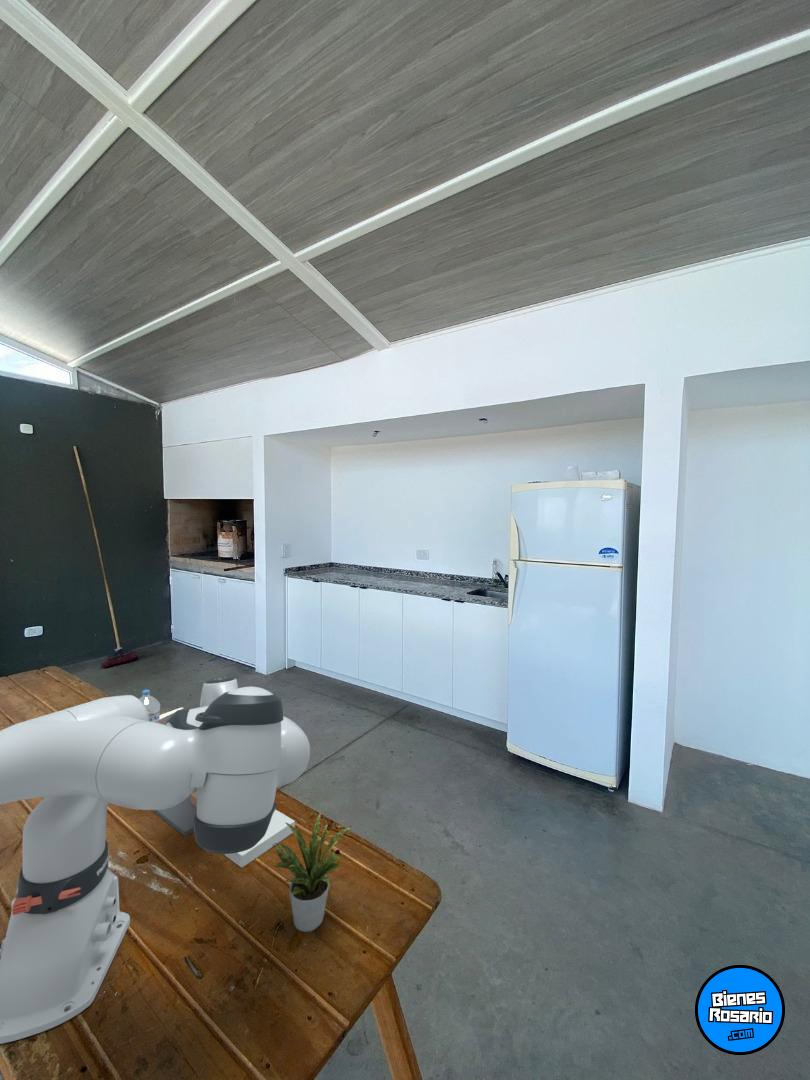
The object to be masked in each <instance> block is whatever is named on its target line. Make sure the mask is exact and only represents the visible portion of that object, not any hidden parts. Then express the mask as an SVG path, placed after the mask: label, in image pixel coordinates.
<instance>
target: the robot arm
mask: <svg viewBox="0 0 810 1080" xmlns="http://www.w3.org/2000/svg"><path fill="white" fill-rule="evenodd" d="M238 684H239V683H238V680H237V678H235V677H233V676H222V677H221V676H220V677H215V678H211V679H207V680H206V681H205V682H203V685H202V689H201V694H200V703H199V706H198V707H194V708H185V709H178V710H176V711H175V712H174V713H173V714H172V715H171V716H170V718H169V719H168V720H167V721H166V723H165V724H164V723H160V722H159V723H156V722H150V721H149V715H148V711H147V709H146V707H145V705H144V704H143V703H142V702H141V701H140V700H139V698H137V697H136V696H134V695H132V694H126V695H125V694H124V695H114V696H107V697H100V698H97V699H94V700H91V701H89V702H84V703H81V704H78V705H74V706H71V707H67V708H64V709H61V710H58V711H54V712H51V713H48V714H45V715H41V716H38V717H35V718H31V719H27V720H25V721H22V722H18V723H15V724H13V725H10V726H8V727H6V728H4V729H1V730H0V805H4V804H8V803H13V802H17V801H24V800H31V799H32V800H33V799H42V800H41V801H40V802H39V803H38V804H37V805H36V806H35V807H34V808H33V809H32V810H31V812H30V813H29V815H28V817H27V819H26V820H25V823H24V826H23V829H22V867H21V869H20V871H19V875H18V880H17V882H16V883H17V884H16V896H15V897H14V899H13V900H11V912H10V917H9V921H8V924H7V925H8V926H7V930H6V932H5V938H4V939H2V940H1V942H0V1044H7V1043H10V1042H14V1041H17V1040H21V1039H25V1038H27V1037H32V1036H34V1035H38V1034H40V1033H44V1032H46V1031H48V1030H50V1029H53V1028H56V1027H58V1026H60V1025H61V1024H63V1023H66V1022H67V1021H69V1020H71V1019H72V1018H74V1017H76V1016H78V1015H79V1014H80V1013H82V1012H83V1011H84V1010H86V1009H87V1008H88V1007H90V1006H91V1005H92V1003H93V1002H94V1000H95V999H96V996H97V994H98V992H99V990H100V987H101V986H102V983H103V981H104V979H105V978H106V975H107V973H108V971H109V968H110V966H111V964H112V962H113V961H114V958H115V956H116V954H117V951H118V949H119V947H120V946H121V943H122V941H123V939H124V937H125V934H126V933H127V931H128V928H129V926H130V924H131V916H130V915H129V913H127V912H124V911H120V895H119V893H120V891H119V889H120V888H119V877H118V876H117V875H116V874H114V873H113V872H112V871H111V870H110V869H109V857H110V850H109V844H108V841H107V839H106V835H107V833H106V832H107V828H106V827H107V815H108V814H107V813H108V805H109V804H111V805H115V806H118V807H121V808H125V809H133V810H141V811H152V810H164V809H168V808H171V807H174V806H176V805H178V804H180V803H181V802H182V801H184V800H185V799H186V798H187V797H188V796H189V795H190V794H191V793H192V792H193V791H194V789H195V788H196V787H198V790H197V813H196V814H195V815H194V831H193V833H194V837H195V842H196V844H197V846H199V847H200V848H202V849H203V850H204V851H206V852H208V853H212V854H219V855H221V854H222V855H224V854H232V853H238V852H242V851H246V850H248V849H250V848H252V847H254V846H255V845H256V844H257V843H258V842H259V841H260V840H261V839H262V838H263V837H264V835H265V834H266V831H267V829H268V826H269V824H270V821H271V818H272V815H273V813H274V811H275V810H277V806H278V805H277V803H276V802H275V801H276V799H275V798H276V793H277V787H280V786H286V785H288V784H291V783H293V782H294V781H297V779H299V778H300V776H302V774H303V773H304V772H305V770H306V769H307V766H308V764H309V762H310V757H311V746H310V740H309V738H308V737H307V735H306V733H305V732H304V731H303V729H302V728H301V727H300V726H299V725H298V724H297V723H295V721H293V720H291V719H290V718H288V717H286V716H284V709H283V702H282V700H281V697H279V696H278V694H276V693H275V692H271V691H270V690H267V689H265V688H262V687H259V686H244V687H242V686H241V687H239V685H238Z"/></svg>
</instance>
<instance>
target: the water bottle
mask: <svg viewBox="0 0 810 1080" xmlns="http://www.w3.org/2000/svg"><path fill="white" fill-rule="evenodd" d="M150 694H151V690H150V689H144V690H142V691H141V696H140V698H138V699H139V700H140V701H141V702H142V703H143V704H144V705H145V707H146V709H147V711H148V715H149V721H150V722H156V723H160V717H161V716H160V715H161V714H160V710H161V703H160V702H159V701H158V699H156V697H154V696H152V695H150Z"/></svg>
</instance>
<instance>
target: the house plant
mask: <svg viewBox="0 0 810 1080" xmlns="http://www.w3.org/2000/svg"><path fill="white" fill-rule="evenodd" d="M321 816H322V812H321V811H320V812H319V813H318V815H317V818H316V821H315V822H314V826H313V830H312V834H311V836H310V835H309V836H308V837H309V845H308V846H307V844H306V841H305V839H304V837H303V834H302V833H301V832H300V830H299V829H297V828H296V827H295V828H294V827H293V826H292V825H290V824H288V823H286V822H285V823H286V824H287V825H288V827H289V828H290V829H291V830H292V831H293V833H292V834H293V835H294V836H295V837H296V840H297V842H298V846H299V849H300V852H301V855H302V859H303V863H304V865H305V866H303V864H302V863H301V861H300V859H299V857H298V856H297V854H296V853H295V852H294V851H293V850H292V849H291V848H290V846H289V847H288V846H287V845H285V844H282V843H280V842H279V843H274V844H276V845H273V844H272V845H273V847H272V848H273V849H274V850H275V851H276V853H277V855H278V857H279V860H280V862H278V863H276V865H275V866H274V868H284V869H288V870H289V871H290V873H291V874H292V875H293V876H294V877H293V878H290V879H287V880H284V882H285V883H290V884H289V889H288V891H289V897H290V898H289V899H290V906H291V912H292V919H293V923H294V926H295V928H296V929H297V930H298V931H301V932H305V933H306V932H312V931H314V930H315V929H317V928H319V926H320V925H321V924H322V923H323V920H324V917H325V909H326V905H327V899H328V894H329V889H330V888H331V884H332V879H331V878H330V877H328V876H327V875H328V874H329V873H331V872H333V871H334V870H336V869H337V868H338V867H341V865H340V864H338V863H336V862H338V861H339V860H342V858H341V856H339V855H338V854H337V853H336V854H335V852H336V851H337V850H339V847H337V848H336V849H335V850H334V851H332V853H331V854H330V855H329V856H328V854H329V852H330V851H331V850H332V849H333V848H334V846H335V845H336V844H337V842H338V841H339V840H340V838H341V836H343V835H344V834H345V833H346V832H348V831H349V830H351V829H353V828H354V826H350V827H345V828H344V829H341V830H340V831H338V832H337V833H336V834H329V835H327V830H328V826H329V823H326V825H325V826H324V829H323V831H322V834H321V835H319V832H320V831H319V830H320V827H321ZM326 835H327V836H326ZM332 837H333V838H332ZM329 838H332V839H331V840H330V841H329V842H328V844H327V846H326V848H325V851H324V852H323V854H322V851H323V847H324V843H325V841H326V840H328V839H329ZM278 846H279V847H278ZM280 848H281V849H280ZM327 856H328V857H327Z"/></svg>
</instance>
